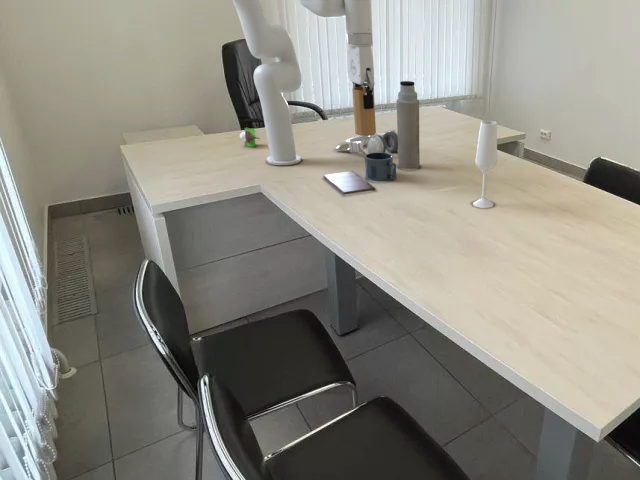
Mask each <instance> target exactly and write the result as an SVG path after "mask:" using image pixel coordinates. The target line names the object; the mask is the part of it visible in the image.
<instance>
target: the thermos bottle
mask: <svg viewBox="0 0 640 480" xmlns="http://www.w3.org/2000/svg"><path fill="white" fill-rule="evenodd" d="M399 84H400V91H398V92H397V93H398V94H397V99H396V128H397V129H396V130H397V131H396V132H397V135H398V151H397V159H398V160H397V164H398V168H401V169H404V170H405V169H406V170H413V169H418V168H419V167H420V166H421V165H420V162H421V161H420V100H419V99H418V92H417V91H416V90H415V82H414V81H411V80H402V81H400V82H399Z"/></svg>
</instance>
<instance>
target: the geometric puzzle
mask: <svg viewBox="0 0 640 480" xmlns="http://www.w3.org/2000/svg"><path fill="white" fill-rule="evenodd" d="M255 133H256V130H255V128H249V127H244V128H243V130H242V131H241V132H240V134H239V138H240V140H241V141H243V142H244V146H245V147H248V148H249V147H251V148H256V140H257V139H258V140H261V138H260V137H257V135H258V136H259V134H257V133H256V134H255Z"/></svg>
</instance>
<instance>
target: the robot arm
mask: <svg viewBox="0 0 640 480" xmlns="http://www.w3.org/2000/svg"><path fill="white" fill-rule="evenodd" d="M231 1H232V3H233V6H234V8H235V10H236V13H237V15H238V19H239V23H240V26H241V29H242V32H243V35H244V38H245V42H246V45H247V48H248V51H249V52H250V55H251V56H252V57H254V58H255V59H258V60H264V59H265V60H266V59H274V58H275V59H274V60H275V61H273V62H266V63H262V64H260V65H259V64H258V66H256V67H255V69H254V72H253V77H252V78H253V83H254V86H255V88H256V91H257V95H258V98H259V101H260V106H261V110H262V112H261V113H262V116H263V117H262V118H263V123H264V128H265V134H266V140H267V146H268V151H269V155H268V156H267V157H266V162H267V164H269V165H273V166H291V165H296V164H299V163H300V162H301V161H302V157H301V155H299V154H297V150H296V143H295V136H294V130H293V123H292V117H291V116H292V115H291V110H290V107H289V104H288V102H287V99H286V98H285V97H284V94H287V93H292V92H296V91H298V90H299V89H300V88H301V85H302V78H303V77H302V73H301V69H300V65H299V61H298V57H297V53H296V50H295V46H294V43H293V39H292V37H291V36H290V33H289V31H288V30H287V29H286V28H285V27H284V26H283V25H281V24H279V23H268V20H267V17H266V13H265V10H264V7H263V5H262V3H261V2H260V0H231ZM297 1H298V2H299V4H300V5H301V6H302V7H304V8H305V9H307V10H308V11H310V12H311V13H312V14H313V15H316V16H317V17H319V18H322V19H331V18H332V19H333V18H334V19H335V18H345V24H346V26H345V27H346V28H345V29H346V40H347V41H346V42H347V69H348V79H349V81H350V82H352V88H354V87H363V91H364V95H363V104H364V109H373V108H374V105H373V89H374V90H375V83H376V82H375V66H374V57H373V50H372V47H373V46H374V44H373V43H374V41H373V24H372V4H371V1H372V0H297ZM366 87H367V89H366Z"/></svg>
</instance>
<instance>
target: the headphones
mask: <svg viewBox="0 0 640 480" xmlns="http://www.w3.org/2000/svg"><path fill="white" fill-rule="evenodd" d="M364 146H366V150H365V148H364ZM333 151H347V152H348V153H358V154H359V153H363V154H364V156H365V155H366V154H369V153H375V152H383V153H386V151H387V152H388V153H394V152H398V135H397V131H396V130H395V129H390V130H388V131H385V132H384V133H382V132H376V134H375V135H372V136H360V135H356V136H352V137H349V138H347V139H346V140H344V141H342V142H340V143H338V144H336V146H335V147H334V148H333ZM366 151H367V152H366Z"/></svg>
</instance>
